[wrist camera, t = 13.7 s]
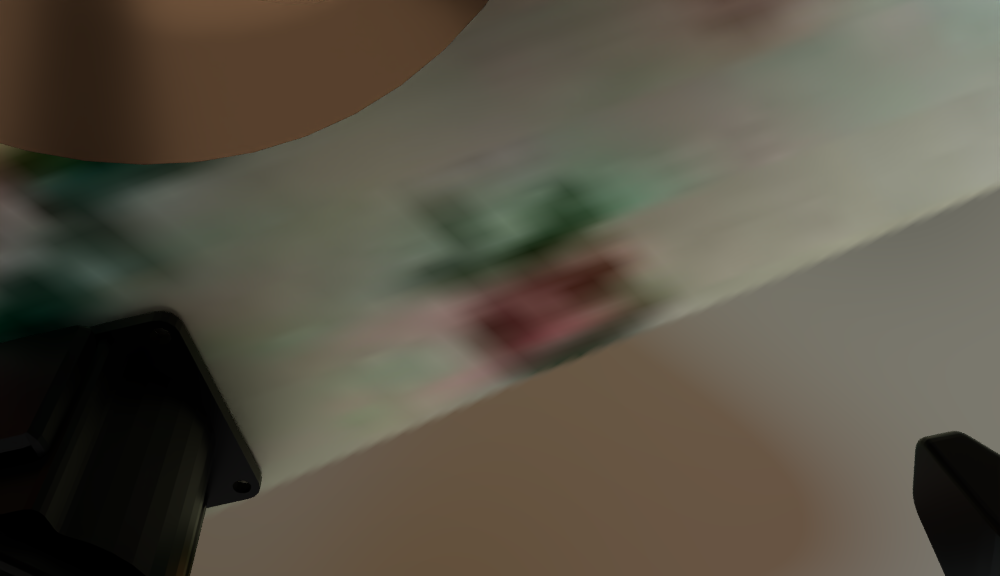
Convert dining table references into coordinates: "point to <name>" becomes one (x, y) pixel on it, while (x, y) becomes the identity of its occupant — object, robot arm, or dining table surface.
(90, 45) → the stop pin
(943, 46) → the dining table surface
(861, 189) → the dining table surface
